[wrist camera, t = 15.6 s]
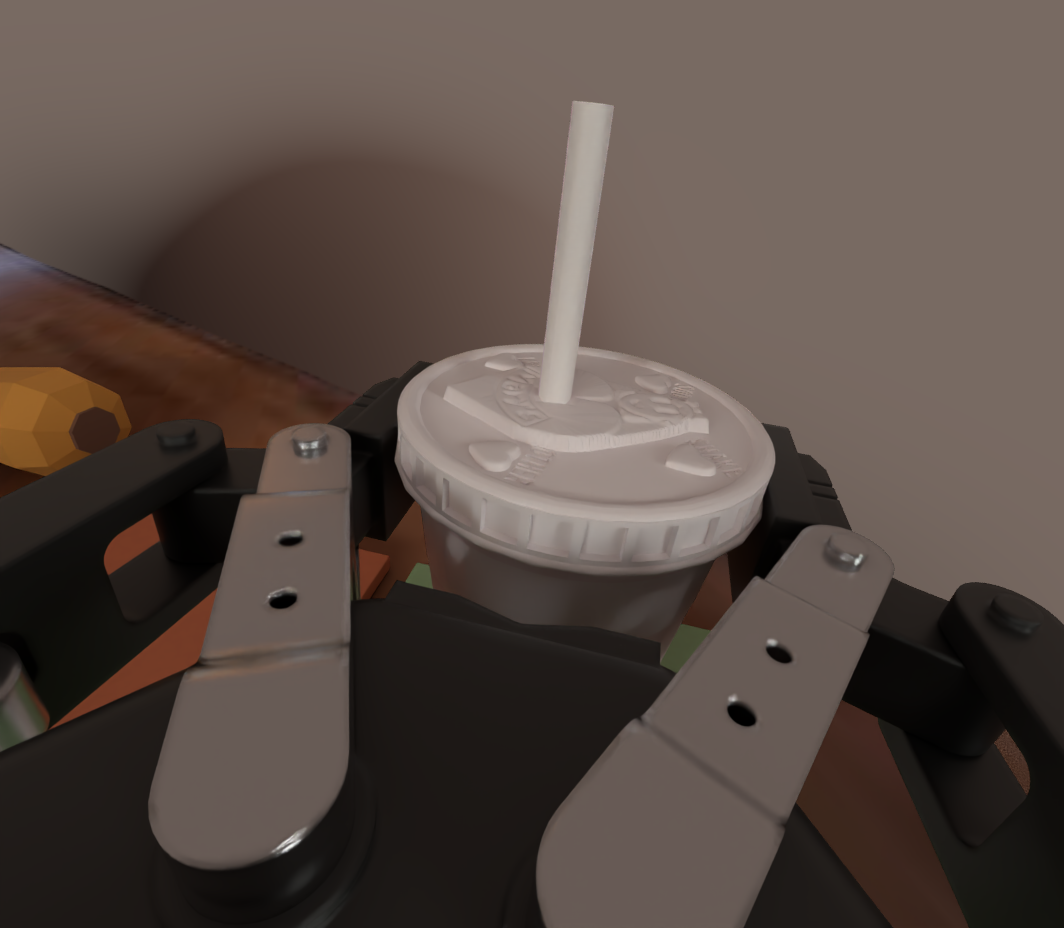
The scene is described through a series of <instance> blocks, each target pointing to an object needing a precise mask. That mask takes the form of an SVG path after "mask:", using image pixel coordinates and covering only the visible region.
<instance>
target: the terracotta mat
mask: <svg viewBox="0 0 1064 928" xmlns="http://www.w3.org/2000/svg"><path fill="white" fill-rule="evenodd" d="M158 541H160V539H159V535H158V532H157V529H156V525H155V522H154V519H153V516H152V514H150V515H148V516H147V517H145V518H144V519H142V520H140V521H139V522H137V523H136V524H134V525H132V526H131V527H129V528H128V529H126V530H124V531H123V532H121V533H120V534H118V535H117V536H116V537H115V538H114V539H113V540H112V541H111V542H110V544H109V545H108V547H107V549H106V552H105V555H104V565H105V568H106V571H107V574H108V575H109V574H111V573H112V572H114V571H115V570H117V569H118V568H120V567H121V566H123V565H124V564H126V563H127V562H129V561H130V560H131V559H133V558H134V557H136V556H137V555H139V554H140V553H142V552H143V551H145V550H146V549H148V548H149V547H151V546H152V545H154V544H155V543H157V542H158ZM359 557H360V591H361V599H370V598H371V596H372V594H373V593H374V591H375V590H376V588H377V587H378V585H379V584H380V582H381V581H382V579H383V578H384V576H385V575H386V573H387V572H388V570H389V569H390V557H389V556H388V555H383V554H379V553H375V552H370V551H366V550H362V549H359ZM216 592H217V589H216V590H214V591H213V592H212V593H211V594H210V595H208V596H207V597H206V598H205V599H204V600H203V601H201V602H200V603H199V604H198V605H197V606H195V607H194V608H193V609H192V610H191V611H189V612H188V613H187V614H186V615H185V616H183V617H182V618H181V619H180V620H179V621H177V622H176V623H175V624H174V625H173V626H172V627H170V628H169V629H168V630H167V631H166V632H164V633H163V634H162V635H161V636H160V637H158V638H157V639H156V640H155V641H154V642H152V643H151V644H150V645H149V646H148V647H147V648H145V649H144V650H143V651H142V652H141V653H139V654H138V655H137V656H136V657H135V658H133V659H132V660H131V661H130V662H129V663H127V664H126V665H125V666H124V667H123V668H122V669H120V670H119V671H118V672H117V673H116V674H114V675H113V676H112V677H111V678H110V679H108V680H107V681H106V682H105V683H104V684H102V685H101V686H100V687H99V688H98V689H96V690H95V691H94V692H93V693H92V694H91V695H89V696H88V697H87V698H86V699H85V700H83V701H82V702H81V703H80V704H79V705H77V706H76V707H75V708H74V709H73V710H71V711H70V712H69V713H68V714H67V715H66V716H64V717H63V718H62V719H61V720H60V721H58V722H57V723H56V724H55V725H54V726H52V727H51V728H50V729H52V728H54V727H56V726H59V725H61V724H63V723H65V722H67V721H70V720H72V719H74V718H76V717H79V716H81V715H83V714H85V713H87V712H90V711H92V710H94V709H96V708H99V707H101V706H103V705H105V704H108V703H110V702H112V701H114V700H116V699H119V698H121V697H123V696H125V695H128V694H130V693H132V692H134V691H136V690H139V689H141V688H143V687H145V686H148V685H150V684H152V683H154V682H157V681H159V680H161V679H163V678H165V677H168V676H170V675H172V674H174V673H177V672H179V671H181V670H183V669H186V668H188V667H190V666H192V665H193V664H195V663H196V662H197V660H198V658H199V656H200V653H201V649H202V646H203V642H204V638H205V634H206V630H207V626H208V622H209V619H210V615H211V611H212V607H213V603H214V599H215V595H216ZM50 729H49V730H50Z"/></svg>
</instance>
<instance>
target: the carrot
mask: <svg viewBox="0 0 1064 928" xmlns="http://www.w3.org/2000/svg"><path fill="white" fill-rule="evenodd" d="M131 428H132V426H131V424H130V421H129V419H128V416H127V413H126V411H125V408H124V405H123V403H122V400H121V398H120V395H118V394H116V393H114V392H112V391H110V390H108V389H106V388H104V387H102V386H101V385H98V384H96V383H94V382H92V381H89V380H87V379H85V378H83V377H80V376H78V375H76V374H74V373H71V372H69V371H67V370H65V369H62V368H60V367H0V463H3V464H5V465H8V466H10V467H13V468H16V469H20V470H24V471H28V472H32V473H35V474H39V475H43V476H47V475H49V474H51V473H53V472H55V471H58V470H60V469H62V468H64V467H66V466H68V465H70V464H72V463H74V462H76V461H79V460H81V459H83V458H85V457H87V456H89V455H91V454H93V453H95V452H97V451H99V450H102V449H104V448H106V447H108V446H110V445H112V444H114V443H116V442H118V441H120V440H123V439H125V438H127V437H128V435H129V433H130V430H131Z"/></svg>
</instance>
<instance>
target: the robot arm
mask: <svg viewBox="0 0 1064 928" xmlns="http://www.w3.org/2000/svg"><path fill="white" fill-rule="evenodd" d="M433 364H434V363H429V362H423V361H419V362H417V363H416V364H415V365H414V366H413V367H412V368H410V369H409V370H408V371H407V372H406V373H405V374H404V375H403V376H402V377H400V378H391V379H388V380H386V381H383V382H380V383H378V384H375V385H374V386H372V387H371V388H370V389H369V390H368V391H366V392H365V393H364V394H363V397H361V396H360V397H359V398H358V399H357V400H356V401H354V402H353V405H350V406H348V407H347V408H346V409H345V410H344V411H342V412H341V413H340V414H339V415H338V416H336V417H335V418H334V419H333V420H332V421H330V422H329V423H328V424H319V423H310V424H301V425H296V426H291V427H288V428H285V429H283V430H281V431H279V432H277V433H275V434H274V435H273V436H272V437H271V438H270V439H269V441H268V443H267V448H266V449H254V448H226V447H225V442H224V437H223V432H222V430H221V428H220V427H219V426H218V425H216V424H214V423H212V422H209V421H204V420H197V419H182V420H173V421H168V422H163V423H159V424H156V425H153V426H150V427H148V428H146V429H143V430H141V431H139V432H137V433H135V434H133V435H131V436H129V437H127V438H125V439H123V440H120V441H118V442H116V443H114V444H112V445H110V446H108V447H106V448H104V449H102V450H99V451H97V452H95V453H93V454H91V455H89V456H87V457H85V458H83V459H81V460H79V461H76V462H74V463H72V464H70V465H68V466H66V467H64V468H62V469H60V470H58V471H55V472H53V473H51V474H49V475H47V476H45V477H43V478H41V479H39V480H37V481H35V482H32V483H30V484H28V485H26V486H24V487H22V488H20V489H18V490H16V491H14V492H11V493H9V494H7V495H5V496H3V497H1V498H0V928H893V927H892V926H891V924H890V923H889V922H888V921H887V919H886V918H885V917H884V915H883V914H882V913H881V912H880V910H879V909H878V908H877V906H876V905H875V904H874V902H873V901H872V900H871V899H870V897H869V896H868V895H867V893H866V892H865V891H864V890H863V888H862V887H861V886H860V884H859V883H858V882H857V881H856V879H855V878H854V877H853V875H852V874H851V873H850V872H849V870H848V869H847V868H846V866H845V865H844V864H843V863H842V861H841V860H840V859H839V857H838V856H837V855H836V853H835V852H834V851H833V850H832V848H831V847H830V846H829V844H828V843H827V842H826V841H825V839H824V838H823V837H822V835H821V834H820V833H819V832H818V830H817V829H816V828H815V826H814V825H813V824H812V823H811V821H810V820H809V819H808V817H807V816H806V815H805V813H804V812H803V811H802V810H801V808H800V807H799V806H798V804H797V803H796V800H797V798H798V795H799V793H800V791H801V789H802V786H803V784H804V782H805V780H806V777H807V775H808V773H809V771H810V768H811V766H812V764H813V762H814V759H815V757H816V755H817V753H818V750H819V748H820V746H821V744H822V741H823V739H824V737H825V735H826V733H827V730H828V728H829V726H830V724H831V721H832V719H833V717H834V715H835V712H836V710H837V708H838V706H839V703H840V701H841V700H843V701H845V702H847V703H849V704H851V705H853V706H855V707H857V708H859V709H861V710H863V711H865V712H867V713H869V714H872V715H874V716H876V717H878V723H879V726H880V729H881V731H882V734H883V736H884V738H885V740H886V743H887V745H888V747H889V749H890V751H891V754H892V756H893V758H894V760H895V763H896V765H897V767H898V769H899V772H900V774H901V776H902V778H903V780H904V783H905V785H906V787H907V789H908V792H909V794H910V796H911V798H912V801H913V803H914V805H915V807H916V810H917V812H918V814H919V816H920V818H921V821H922V823H923V825H924V827H925V830H926V832H927V834H928V836H929V839H930V841H931V843H932V845H933V848H934V850H935V852H936V854H937V856H938V859H939V861H940V863H941V865H942V868H943V870H944V872H945V874H946V877H947V879H948V881H949V883H950V885H951V888H952V890H953V892H954V894H955V897H956V899H957V901H958V903H959V906H960V908H961V910H962V912H963V915H964V917H965V919H966V921H967V923H968V926H969V928H1064V625H1063V624H1062V623H1061V622H1060V621H1059V620H1058V619H1057V618H1056V617H1055V616H1054V615H1053V614H1051V613H1050V612H1049V611H1048V610H1046V609H1045V608H1043V607H1042V606H1040V605H1039V604H1037V603H1035V602H1034V601H1032V600H1030V599H1028V598H1026V597H1024V596H1023V595H1020V594H1018V593H1016V592H1014V591H1011V590H1008V589H1006V588H1003V587H1000V586H996V585H992V584H987V583H979V582H975V583H973V582H972V583H966V584H963V585H961V586H960V587H959V588H958V589H957V590H956V592H955V593H954V595H953V596H952V598H951V599H950V601H947V600H944V599H942V598H939V597H937V596H934V595H932V594H928V593H926V592H924V591H921V590H919V589H916V588H914V587H911V586H909V585H907V584H904V583H902V582H900V581H898V580H896V579H894V578H893V574H894V564H893V562H892V560H891V559H890V557H889V556H888V555H887V553H886V552H884V550H883V549H882V548H880V547H879V546H878V545H877V544H875V543H874V542H872V541H871V540H869V539H867V538H865V537H864V536H862V535H860V534H858V533H855V532H853V531H852V529H851V527H850V525H849V523H848V520H847V518H846V515H845V513H844V511H843V508H842V506H841V504H840V501H839V500H837V498H838V497H837V495H836V492H835V490H834V488H832V483H831V481H830V478H829V476H828V474H827V471H826V470H825V469H824V468H823V467H822V466H821V465H820V464H819V463H818V462H817V461H815V460H814V459H813V458H812V457H811V456H810V455H805V454H800V453H797V450H796V448H795V445H794V442H793V439H792V437H791V434H790V431H789V429H788V428H786V427H780V426H775V425H769V424H764V423H761V424H762V425H763V427H764V429H765V430H766V432H767V433H768V435H769V436H770V439H771V441H772V443H773V446H774V451H775V466H774V470H773V473H772V476H771V478H770V480H769V483H768V485H767V488H766V491H765V493H764V496H763V510H762V518H761V520H760V521H759V523H758V524H757V525H756V527H755V528H754V529H753V531H752V532H751V533H750V534H749V536H748V537H747V538H746V540H745V541H744V542H743V544H742V545H740V546H738V547H736V548H734V549H732V550H731V551H729V552H727V556H728V565H729V574H730V583H731V592H732V601H733V604H732V605H731V607H730V608H729V609H728V610H727V612H726V613H725V614H724V615H723V617H722V618H721V619H720V620H719V622H718V623H717V624H716V625H715V627H714V628H713V629H712V630H711V632H710V633H709V634H708V635H707V637H706V638H705V639H704V640H703V642H702V643H701V644H700V645H699V647H698V648H697V649H696V650H695V652H694V653H693V654H692V655H691V657H690V658H689V659H688V660H687V662H686V663H685V664H684V665H683V667H682V668H681V669H680V670H679V672H678V673H675V672H674V671H672V670H670V669H668V668H666V667H664V666H662V665H660V652H661V643H660V642H656V641H652V640H648V639H643V638H639V637H635V636H631V635H626V634H622V633H618V632H614V631H609V630H605V629H601V628H597V627H592V626H565V625H538V624H522V623H518V622H516V621H513V620H511V619H509V618H507V617H505V616H502V615H500V614H498V613H496V612H494V611H492V610H490V609H488V608H486V607H483V606H481V605H479V604H477V603H475V602H473V601H471V600H469V599H466V598H464V597H462V596H460V595H457V594H453V593H449V592H445V591H440V590H436V589H432V588H428V587H423V586H419V585H415V584H411V583H407V582H402V581H398V580H397V581H396V582H395V584H394V585H393V587H392V589H391V590H390V592H389V593H388V595H387V597H386V598H385V599H382V598H376V599H361V591H360V557H359V543H360V542H361V540H362V539H363V538H364V537H369V538H374V539H378V540H383V541H387V539H388V538H389V536H390V535H391V534H392V532H393V531H394V529H395V528H396V527H397V525H398V524H399V522H400V521H401V520H402V518H403V517H404V515H405V514H406V513H407V511H408V510H409V508H410V507H411V506H412V504H413V503H414V501H415V500H414V499H413V497H412V496H411V495H410V494H409V493H408V492H407V491H406V490H405V487H404V485H403V482H402V480H401V477H400V474H399V472H398V469H397V466H396V464H395V461H394V460H395V453H396V446H397V439H398V418H397V407H398V401H399V398H400V395H401V393H402V391H403V390H404V388H405V386H406V385H407V384H408V383H409V382H410V381H411V380H412V379H413V378H414V377H415V376H416V375H418V374H419V373H420V372H422V371H423V370H425V369H426V368H427V367H429V366H430V365H433ZM150 514H152V516H153V519H154V522H155V525H156V529H157V532H158V535H159V539H160V541H158V542H157V543H155V544H154V545H152V546H151V547H149V548H148V549H146V550H145V551H143V552H142V553H140V554H139V555H137V556H136V557H134V558H133V559H131V560H130V561H129V562H127V563H126V564H124V565H123V566H121V567H120V568H118V569H117V570H115V571H114V572H112V573H111V574H109V575H108V574H107V571H106V568H105V565H104V555H105V552H106V549H107V547H108V545H109V544H110V542H111V541H112V540H113V539H114V538H115V537H116V536H117V535H118V534H120V533H121V532H123V531H124V530H126V529H128V528H129V527H131V526H132V525H134V524H136V523H137V522H139V521H140V520H142V519H144V518H145V517H147V516H148V515H150ZM216 589H217V592H216V595H215V599H214V603H213V607H212V611H211V615H210V619H209V622H208V626H207V630H206V634H205V638H204V642H203V646H202V649H201V653H200V656H199V658H198V660H197V662H196V663H195V664H193V665H192V666H190V667H188V668H186V669H183V670H181V671H179V672H177V673H174V674H172V675H170V676H168V677H165V678H163V679H161V680H159V681H157V682H154V683H152V684H150V685H148V686H145V687H143V688H141V689H139V690H136V691H134V692H132V693H130V694H128V695H125V696H123V697H121V698H119V699H116V700H114V701H112V702H110V703H108V704H105V705H103V706H101V707H99V708H96V709H94V710H92V711H90V712H87V713H85V714H83V715H81V716H79V717H76V718H74V719H72V720H70V721H67V722H65V723H63V724H61V725H59V726H56V727H54V728H52V729H50V728H51V727H52V726H54V725H55V724H56V723H57V722H58V721H60V720H61V719H62V718H63V717H64V716H66V715H67V714H68V713H69V712H70V711H71V710H73V709H74V708H75V707H76V706H77V705H79V704H80V703H81V702H82V701H83V700H85V699H86V698H87V697H88V696H89V695H91V694H92V693H93V692H94V691H95V690H96V689H98V688H99V687H100V686H101V685H102V684H104V683H105V682H106V681H107V680H108V679H110V678H111V677H112V676H113V675H114V674H116V673H117V672H118V671H119V670H120V669H122V668H123V667H124V666H125V665H126V664H127V663H129V662H130V661H131V660H132V659H133V658H135V657H136V656H137V655H138V654H139V653H141V652H142V651H143V650H144V649H145V648H147V647H148V646H149V645H150V644H151V643H152V642H154V641H155V640H156V639H157V638H158V637H160V636H161V635H162V634H163V633H164V632H166V631H167V630H168V629H169V628H170V627H172V626H173V625H174V624H175V623H176V622H177V621H179V620H180V619H181V618H182V617H183V616H185V615H186V614H187V613H188V612H189V611H191V610H192V609H193V608H194V607H195V606H197V605H198V604H199V603H200V602H201V601H203V600H204V599H205V598H206V597H207V596H208V595H210V594H211V593H212V592H213V591H214V590H216ZM49 729H50V730H49ZM1005 729H1006V730H1007V731H1008V733H1009V734H1010V736H1011V737H1012V739H1013V740H1014V742H1015V743H1016V745H1017V746H1018V748H1019V750H1020V751H1021V753H1022V754H1023V756H1024V758H1025V760H1026V762H1027V765H1028V768H1029V773H1030V789H1029V793H1028V795H1026V794H1025V792H1024V790H1023V789H1022V787H1021V785H1020V784H1019V782H1018V781H1017V779H1016V777H1015V776H1014V774H1013V773H1012V771H1011V769H1010V768H1009V766H1008V765H1007V763H1006V761H1005V760H1004V758H1003V756H1002V755H1001V753H1000V752H999V750H998V748H997V747H996V745H995V744H994V742H995V741H996V740H997V739H998V738H999V736H1000V735H1001V734H1002V733H1003V732H1004V731H1005Z"/></svg>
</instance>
